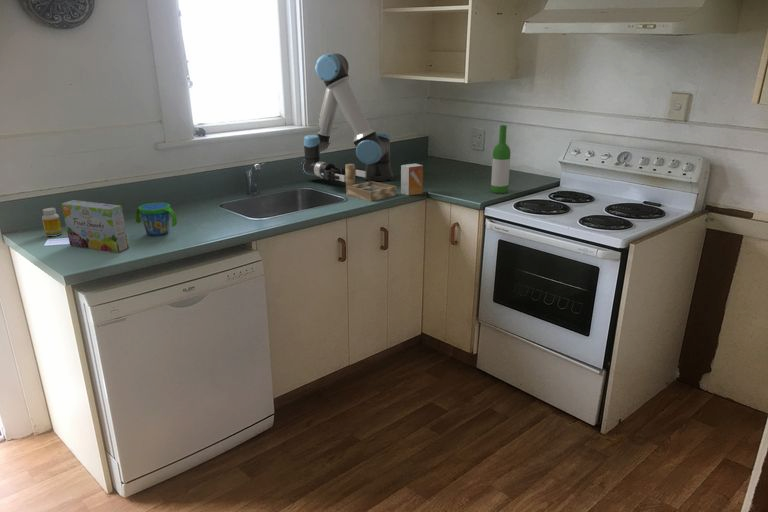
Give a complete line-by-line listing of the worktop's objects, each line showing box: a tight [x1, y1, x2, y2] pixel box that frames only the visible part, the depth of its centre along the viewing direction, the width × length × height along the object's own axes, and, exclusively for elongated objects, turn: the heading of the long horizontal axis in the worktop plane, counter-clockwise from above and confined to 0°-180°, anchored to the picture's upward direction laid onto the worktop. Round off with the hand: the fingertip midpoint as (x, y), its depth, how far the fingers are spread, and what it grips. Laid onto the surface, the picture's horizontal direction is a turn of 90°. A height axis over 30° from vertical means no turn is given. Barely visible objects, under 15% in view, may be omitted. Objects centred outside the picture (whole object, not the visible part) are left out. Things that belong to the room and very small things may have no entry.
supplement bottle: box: [41, 207, 63, 237], centre depth 210 cm, size 5×5×10 cm
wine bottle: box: [490, 124, 511, 194], centre depth 266 cm, size 8×8×30 cm
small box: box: [400, 163, 424, 196], centre depth 267 cm, size 8×6×13 cm
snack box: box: [61, 199, 130, 254], centre depth 195 cm, size 21×6×15 cm, turn 69°
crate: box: [345, 181, 397, 202], centre depth 266 cm, size 16×16×4 cm
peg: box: [344, 163, 356, 187], centre depth 274 cm, size 4×4×12 cm
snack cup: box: [134, 202, 178, 236], centre depth 211 cm, size 16×10×10 cm
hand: (355, 176), depth 271 cm, fingers open, 12 cm apart
